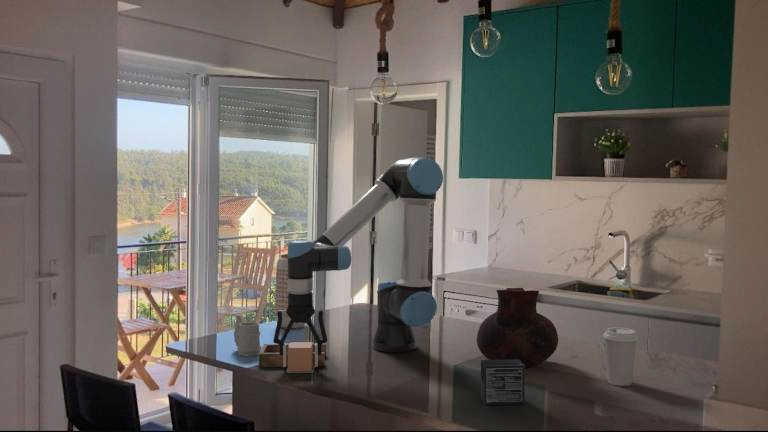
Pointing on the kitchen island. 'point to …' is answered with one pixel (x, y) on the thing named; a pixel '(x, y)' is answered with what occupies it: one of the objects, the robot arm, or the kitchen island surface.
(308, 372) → the mat
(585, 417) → the kitchen island surface
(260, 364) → the wooden tray
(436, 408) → the kitchen island surface
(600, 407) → the kitchen island surface
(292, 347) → the block
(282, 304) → the patterned vase
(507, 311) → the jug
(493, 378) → the small box
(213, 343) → the kitchen island surface
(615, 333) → the coffee cup
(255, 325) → the mug
